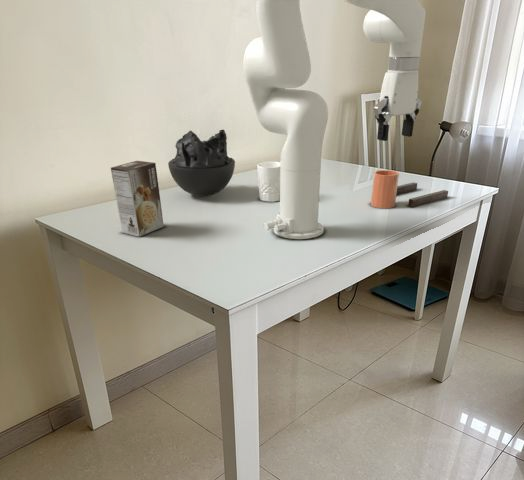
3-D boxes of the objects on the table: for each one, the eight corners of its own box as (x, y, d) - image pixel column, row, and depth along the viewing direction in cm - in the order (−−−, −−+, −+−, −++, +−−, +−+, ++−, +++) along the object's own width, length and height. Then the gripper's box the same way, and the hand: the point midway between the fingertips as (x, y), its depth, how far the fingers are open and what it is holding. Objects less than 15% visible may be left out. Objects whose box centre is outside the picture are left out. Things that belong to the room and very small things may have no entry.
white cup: (281, 203, 146) (281, 167, 141) (255, 201, 147) (254, 166, 142) (285, 195, 153) (286, 162, 147) (260, 194, 154) (260, 161, 148)
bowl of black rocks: (161, 202, 148) (153, 134, 138) (185, 185, 164) (180, 123, 154) (225, 206, 144) (221, 136, 134) (243, 188, 160) (241, 125, 150)
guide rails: (412, 207, 141) (413, 200, 140) (377, 197, 150) (378, 190, 149) (447, 197, 149) (448, 191, 148) (412, 188, 158) (413, 182, 157)
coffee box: (146, 223, 132) (137, 159, 123) (164, 227, 129) (156, 162, 120) (121, 233, 125) (109, 166, 116) (139, 237, 122) (129, 170, 114)
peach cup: (383, 209, 140) (387, 176, 135) (366, 204, 144) (369, 172, 139) (399, 205, 143) (403, 173, 138) (382, 200, 147) (385, 169, 143)
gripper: (414, 63, 132) (405, 132, 141) (368, 66, 123) (361, 140, 133) (437, 64, 127) (426, 136, 136) (391, 67, 118) (382, 144, 128)
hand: (394, 138), depth 134 cm, fingers open, 9 cm apart
